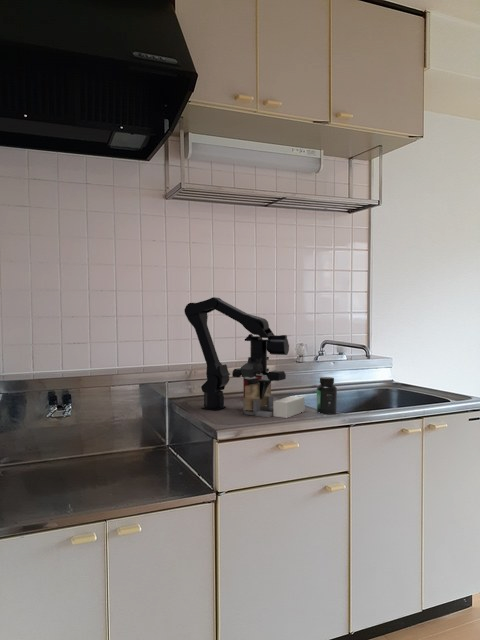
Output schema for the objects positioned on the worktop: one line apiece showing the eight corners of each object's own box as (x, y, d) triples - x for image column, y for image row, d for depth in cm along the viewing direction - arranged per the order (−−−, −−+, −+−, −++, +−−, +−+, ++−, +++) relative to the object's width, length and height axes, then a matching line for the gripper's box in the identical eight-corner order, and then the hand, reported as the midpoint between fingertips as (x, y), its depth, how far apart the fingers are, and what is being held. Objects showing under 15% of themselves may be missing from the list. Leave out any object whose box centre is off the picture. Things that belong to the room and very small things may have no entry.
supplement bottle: (317, 414, 170) (317, 378, 170) (316, 410, 176) (316, 376, 176) (337, 414, 169) (337, 379, 169) (336, 410, 176) (336, 376, 175)
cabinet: (243, 413, 170) (243, 399, 170) (266, 406, 183) (266, 393, 183) (282, 419, 161) (282, 403, 161) (304, 411, 174) (304, 397, 174)
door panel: (266, 403, 180) (266, 381, 180) (270, 404, 179) (271, 381, 178) (244, 409, 168) (244, 385, 168) (249, 410, 167) (249, 386, 167)
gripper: (223, 354, 172) (223, 399, 172) (270, 357, 161) (269, 405, 161) (241, 352, 181) (241, 395, 181) (286, 354, 170) (286, 400, 171)
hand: (258, 398), depth 173 cm, fingers closed on door panel, 2 cm apart
